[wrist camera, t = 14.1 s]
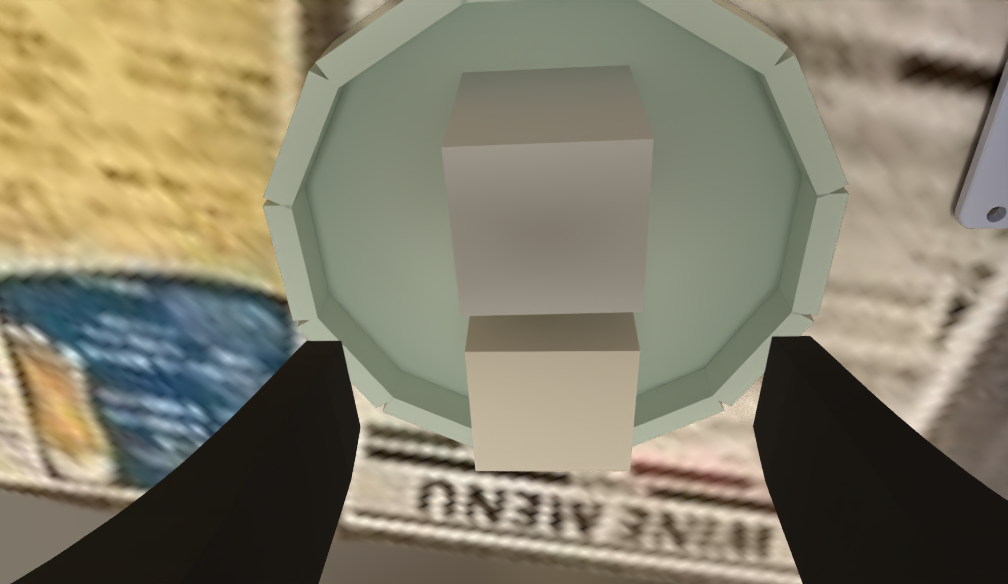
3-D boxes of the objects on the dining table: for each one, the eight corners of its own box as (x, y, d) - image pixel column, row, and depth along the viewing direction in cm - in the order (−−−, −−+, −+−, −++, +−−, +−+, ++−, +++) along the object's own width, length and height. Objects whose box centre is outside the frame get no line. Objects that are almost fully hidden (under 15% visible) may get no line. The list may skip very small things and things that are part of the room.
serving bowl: (875, -67, 17) (910, -53, 16) (768, 413, 26) (783, 454, 25) (232, -40, 18) (202, -24, 17) (340, 415, 27) (328, 454, 26)
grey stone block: (628, 64, 19) (653, 138, 15) (622, 213, 21) (642, 311, 17) (462, 72, 19) (441, 146, 15) (475, 217, 22) (460, 316, 18)
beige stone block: (621, 248, 22) (639, 350, 18) (614, 358, 25) (629, 471, 20) (478, 249, 22) (464, 352, 18) (486, 359, 25) (475, 470, 21)
